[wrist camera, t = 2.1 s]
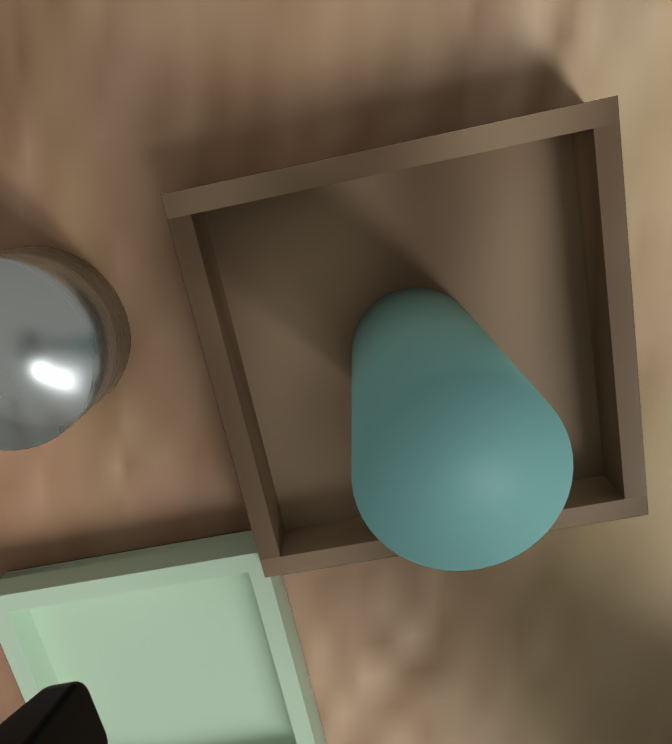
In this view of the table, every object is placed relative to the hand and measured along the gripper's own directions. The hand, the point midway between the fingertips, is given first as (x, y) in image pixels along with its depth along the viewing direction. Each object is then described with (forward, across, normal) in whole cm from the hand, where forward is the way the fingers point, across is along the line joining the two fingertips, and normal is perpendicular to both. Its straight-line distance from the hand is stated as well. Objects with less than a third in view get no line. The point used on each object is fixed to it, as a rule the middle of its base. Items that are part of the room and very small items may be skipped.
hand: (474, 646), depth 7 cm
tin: (+12, +10, -3) cm, 16 cm away
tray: (+12, +10, +9) cm, 18 cm away
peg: (+12, 0, 0) cm, 12 cm away
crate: (+12, 0, 0) cm, 12 cm away
